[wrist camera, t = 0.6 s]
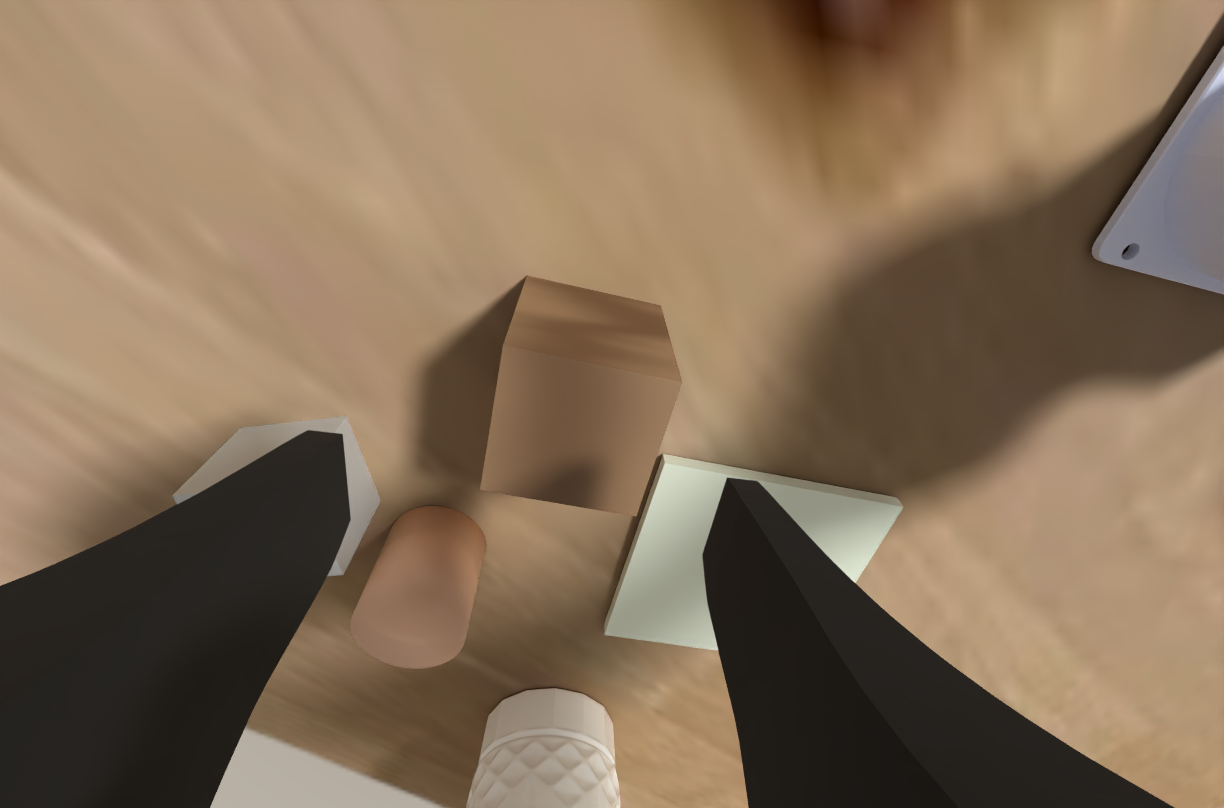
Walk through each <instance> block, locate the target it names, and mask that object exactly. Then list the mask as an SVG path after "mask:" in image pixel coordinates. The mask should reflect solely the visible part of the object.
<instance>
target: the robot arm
mask: <svg viewBox="0 0 1224 808" xmlns="http://www.w3.org/2000/svg"><path fill="white" fill-rule="evenodd" d="M1128 245H1130V246H1129V248H1128V251H1127V252H1126V253H1125V254H1123V255H1122V252H1123V250H1124V249H1125V248H1126V247H1127V246H1128ZM1092 255H1093V257H1094V258H1095V259H1097V260H1098V261H1101V262H1104V263H1107V264H1111V265H1114V266H1118V267H1122V268H1126V269H1130V270H1133V271H1137V272H1141V273H1145V274H1148V275H1152V276H1156V277H1160V278H1164V279H1167V280H1171V281H1175V282H1179V283H1182V284H1186V285H1190V286H1194V287H1198V288H1201V289H1205V290H1209V291H1213V292H1216V293H1220V294H1224V46H1223V47H1222V49H1221V50H1220V52H1219V53H1218V55H1217V57H1216V58H1215V60H1214V61H1213V63H1212V64H1211V66H1210V67H1209V69H1208V70H1207V72H1206V73H1205V75H1204V76H1203V78H1202V79H1201V81H1200V82H1199V84H1198V85H1197V87H1196V89H1195V90H1194V92H1193V93H1192V95H1191V96H1190V98H1189V99H1188V101H1187V102H1186V104H1185V105H1184V107H1183V108H1182V110H1181V111H1180V113H1179V114H1178V116H1177V117H1176V119H1175V120H1174V122H1173V124H1172V125H1171V127H1170V128H1169V130H1168V131H1167V133H1166V134H1165V136H1164V137H1163V139H1162V140H1161V142H1160V143H1159V145H1158V146H1157V148H1156V149H1155V151H1154V152H1153V154H1152V156H1151V157H1150V159H1149V160H1148V162H1147V163H1146V165H1145V166H1144V168H1143V169H1142V171H1141V172H1140V174H1139V175H1138V177H1137V178H1136V180H1135V181H1134V183H1133V184H1132V186H1131V187H1130V189H1129V191H1128V192H1127V194H1126V195H1125V197H1124V198H1123V200H1122V201H1121V203H1120V204H1119V206H1118V207H1117V209H1116V210H1115V212H1114V213H1113V215H1112V216H1111V218H1110V219H1109V221H1108V223H1107V224H1106V226H1105V227H1104V229H1103V230H1102V232H1101V233H1100V235H1099V236H1098V238H1097V239H1096V241H1095V243H1094V245H1093V247H1092ZM350 521H351V516H350V505H349V495H348V484H347V473H346V463H345V452H344V442H343V434H339V433H330V432H321V431H313V430H307V431H305V432H303V433H301V434H299V435H298V436H296V437H294V438H292V439H290V440H289V441H287V442H285V443H284V444H282V445H280V446H278V447H277V448H275V449H273V450H272V451H270V452H268V453H267V454H265V455H263V456H262V457H260V458H258V459H257V460H255V461H253V462H251V463H250V464H248V465H246V466H245V467H243V468H241V469H239V470H238V471H236V472H234V473H233V474H231V475H229V476H227V477H226V478H224V479H222V480H221V481H219V482H217V483H215V484H214V485H212V486H210V487H208V488H207V489H205V490H203V491H201V492H200V493H198V494H196V495H194V496H192V497H190V498H188V499H186V500H185V501H183V502H181V503H179V504H177V505H175V506H173V507H171V508H170V509H168V510H166V511H164V512H162V513H160V514H158V515H156V516H154V517H153V518H151V519H149V520H147V521H145V522H143V523H141V524H139V525H137V526H136V527H134V528H132V529H129V530H127V531H125V532H123V533H121V534H119V535H117V536H115V537H113V538H111V539H109V540H107V541H105V542H103V543H100V544H98V545H96V546H94V547H92V548H90V549H87V550H85V551H83V552H81V553H78V554H76V555H74V556H72V557H69V558H67V559H65V560H63V561H60V562H58V563H56V564H54V565H51V566H49V567H47V568H44V569H42V570H40V571H37V572H35V573H32V574H30V575H27V576H25V577H22V578H20V579H17V580H15V581H12V582H9V583H7V584H4V585H2V586H0V808H210V806H211V803H212V801H213V799H214V796H215V794H216V792H217V790H218V787H219V785H220V783H221V780H222V778H223V775H224V773H225V771H226V768H227V766H228V764H229V762H230V760H231V757H232V755H233V753H234V751H235V748H236V746H237V744H238V742H239V739H240V737H241V735H242V733H243V731H244V728H245V726H246V724H247V722H248V719H249V717H250V715H251V713H252V711H253V708H254V707H255V705H256V703H257V701H258V699H259V697H260V695H261V693H262V691H263V689H264V687H265V685H266V683H267V682H268V680H269V678H270V676H271V674H272V673H273V671H274V669H275V667H276V666H277V664H278V662H279V660H280V659H281V657H282V655H283V653H284V652H285V650H286V648H287V646H288V645H289V643H290V641H291V639H292V638H293V636H294V634H295V632H296V631H297V629H298V627H299V625H300V624H301V622H302V620H303V618H304V617H305V615H306V613H307V611H308V610H309V608H310V606H311V604H312V602H313V601H314V599H315V597H316V595H317V593H318V592H319V590H320V588H321V586H322V585H323V583H324V581H325V579H326V577H327V575H328V574H329V572H330V570H331V568H332V566H333V563H334V561H335V558H336V556H337V554H338V551H339V549H340V546H341V544H342V541H343V539H344V536H345V534H346V531H347V528H348V526H349V523H350ZM702 557H703V568H704V579H705V588H706V596H707V604H708V608H709V612H710V617H711V621H712V625H713V630H714V634H715V638H716V642H717V647H718V651H719V655H720V659H721V663H722V667H723V671H724V675H725V680H726V684H727V688H728V692H729V696H730V700H731V704H732V708H733V713H734V717H735V722H736V727H737V732H738V737H739V742H740V749H741V756H742V763H743V770H744V777H745V784H746V791H747V798H748V806H749V808H1174V807H1172V806H1171V805H1169V804H1167V803H1165V802H1164V801H1162V800H1160V799H1159V798H1157V797H1155V796H1153V795H1152V794H1150V793H1148V792H1147V791H1145V790H1143V789H1141V788H1140V787H1138V786H1136V785H1134V784H1133V783H1131V782H1129V781H1128V780H1126V779H1124V778H1122V777H1121V776H1119V775H1117V774H1115V773H1114V772H1112V771H1110V770H1109V769H1107V768H1105V767H1103V766H1102V765H1100V764H1098V763H1097V762H1095V761H1093V760H1091V759H1090V758H1088V757H1086V756H1085V755H1083V754H1081V753H1080V752H1078V751H1077V750H1075V749H1073V748H1072V747H1070V746H1069V745H1067V744H1066V743H1064V742H1062V741H1061V740H1059V739H1058V738H1056V737H1055V736H1053V735H1052V734H1050V733H1048V732H1047V731H1045V730H1044V729H1042V728H1041V727H1039V726H1038V725H1036V724H1034V723H1033V722H1031V721H1030V720H1028V719H1027V718H1025V717H1024V716H1022V715H1021V714H1019V713H1018V712H1016V711H1015V710H1013V709H1012V708H1011V707H1009V706H1008V705H1006V704H1005V703H1003V702H1002V701H1000V700H999V699H997V698H996V697H994V696H993V695H992V694H990V693H989V692H987V691H986V690H985V689H983V688H982V687H981V686H979V685H978V684H977V683H975V682H974V681H972V680H971V679H970V678H968V677H967V676H966V675H964V674H963V673H961V672H960V671H959V670H957V669H956V668H955V667H953V666H952V665H951V664H949V663H948V662H947V661H945V660H944V659H943V658H941V657H940V656H939V655H938V654H936V653H935V652H934V651H932V650H931V649H930V648H929V647H927V646H926V645H925V644H924V643H923V642H921V641H920V640H919V639H918V638H917V637H915V636H914V635H913V634H912V633H911V632H909V631H908V630H907V629H906V628H905V627H903V626H902V625H901V624H900V623H899V622H897V621H896V620H895V619H894V618H893V617H891V616H890V615H889V614H888V613H887V612H886V611H885V610H883V609H882V608H881V607H880V606H879V605H878V604H877V603H876V602H875V601H874V600H872V599H871V598H870V597H869V596H868V595H867V594H866V593H865V592H864V591H863V590H862V589H861V588H860V587H859V586H858V585H857V584H856V583H854V582H853V581H852V580H851V579H850V578H849V577H848V576H847V575H846V574H845V573H844V572H843V571H842V570H841V569H840V568H839V567H838V566H837V565H836V564H835V563H834V562H833V561H832V560H831V559H830V558H829V557H828V556H827V555H826V554H825V553H824V552H823V551H822V549H821V548H820V547H819V546H818V545H817V544H816V543H815V542H814V541H813V540H812V539H811V538H810V537H809V536H808V535H807V534H806V533H805V531H804V530H803V529H802V528H801V527H800V526H799V525H798V524H797V523H796V522H795V521H794V519H793V518H792V517H791V516H790V515H789V514H788V513H787V512H786V511H785V510H784V509H783V507H782V506H781V505H780V504H779V503H778V502H777V501H776V500H775V499H774V498H773V496H772V495H771V494H770V493H769V492H768V491H767V490H766V489H765V488H764V487H763V486H762V485H761V484H760V483H759V482H758V481H754V480H745V479H736V478H728V477H727V479H726V482H725V485H724V488H723V491H722V494H721V498H720V501H719V504H718V507H717V510H716V513H715V516H714V519H713V523H712V526H711V529H710V532H709V535H708V538H707V541H706V544H705V547H704V551H703V554H702Z"/></svg>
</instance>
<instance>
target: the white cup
mask: <svg viewBox="0 0 1224 808" xmlns="http://www.w3.org/2000/svg"><path fill="white" fill-rule="evenodd" d="M466 808H620V791H619V785H618V779H617V774H616V770H615V751H614V735H613V723H612V721H611V719H610V717H609V715H608V713H607V712H606V710H605V708H604V706H603V705H601V704H599V703H598V702H596V701H594V700H593V699H591V698H589V697H588V696H586V695H584V694H582V693H578V692H573V691H568V690H563V689H558V688H548V689H535V690H526V691H523V692H521V693H518V694H516V695H513V696H511V697H508V698H506V699H504V700H502V701H501V702H500V703H499V705H498V706H497V707H496V708H495V709H494V710H493V711H492V712H491V713H490V714H489V716H488V719H487V724H486V729H485V734H484V739H483V744H482V749H481V754H480V758H479V763H478V767H477V770H476V773H475V775H474V777H473V780H472V785H471V789H470V793H469V797H468V801H467V806H466Z"/></svg>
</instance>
